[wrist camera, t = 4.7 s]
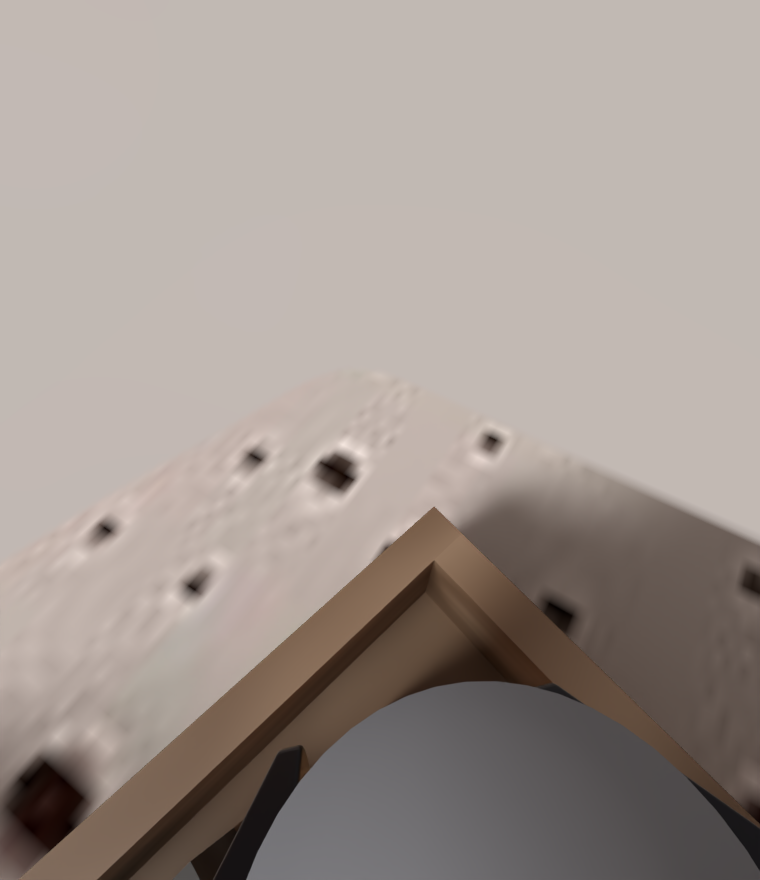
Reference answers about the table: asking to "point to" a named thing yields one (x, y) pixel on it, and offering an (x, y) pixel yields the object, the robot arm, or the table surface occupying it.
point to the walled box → (341, 703)
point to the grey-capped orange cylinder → (496, 799)
